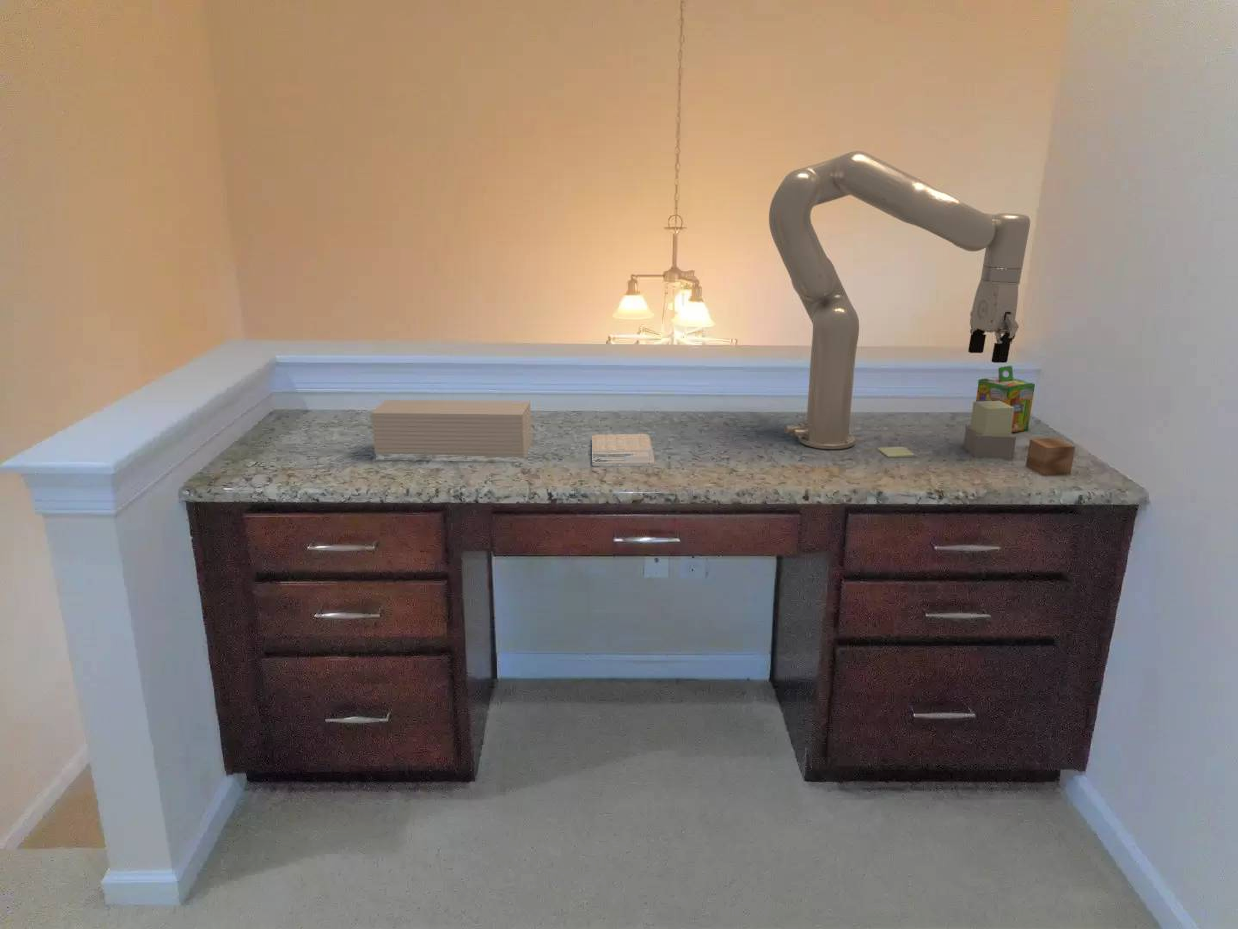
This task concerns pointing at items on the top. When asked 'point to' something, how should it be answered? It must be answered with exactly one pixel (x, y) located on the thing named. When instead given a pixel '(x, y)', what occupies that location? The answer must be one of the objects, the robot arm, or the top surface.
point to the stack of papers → (452, 428)
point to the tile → (895, 452)
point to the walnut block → (1050, 456)
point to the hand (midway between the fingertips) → (987, 357)
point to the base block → (989, 444)
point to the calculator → (623, 448)
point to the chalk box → (1009, 396)
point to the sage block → (992, 418)
